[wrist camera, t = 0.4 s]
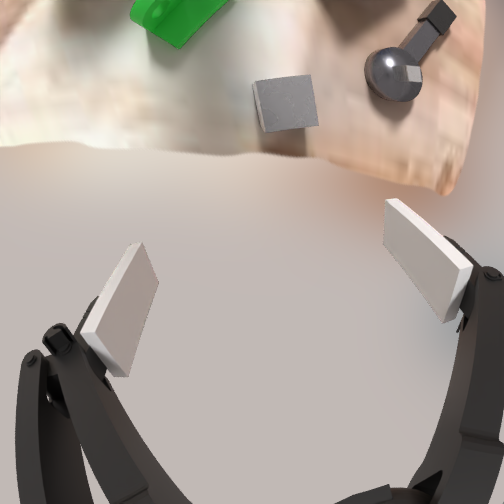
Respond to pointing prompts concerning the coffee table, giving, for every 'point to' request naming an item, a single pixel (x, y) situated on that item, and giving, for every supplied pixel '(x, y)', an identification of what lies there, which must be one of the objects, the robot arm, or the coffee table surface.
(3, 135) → the coffee table surface
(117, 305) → the robot arm
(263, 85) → the grey metal block
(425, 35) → the ladle
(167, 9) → the mechanical part
